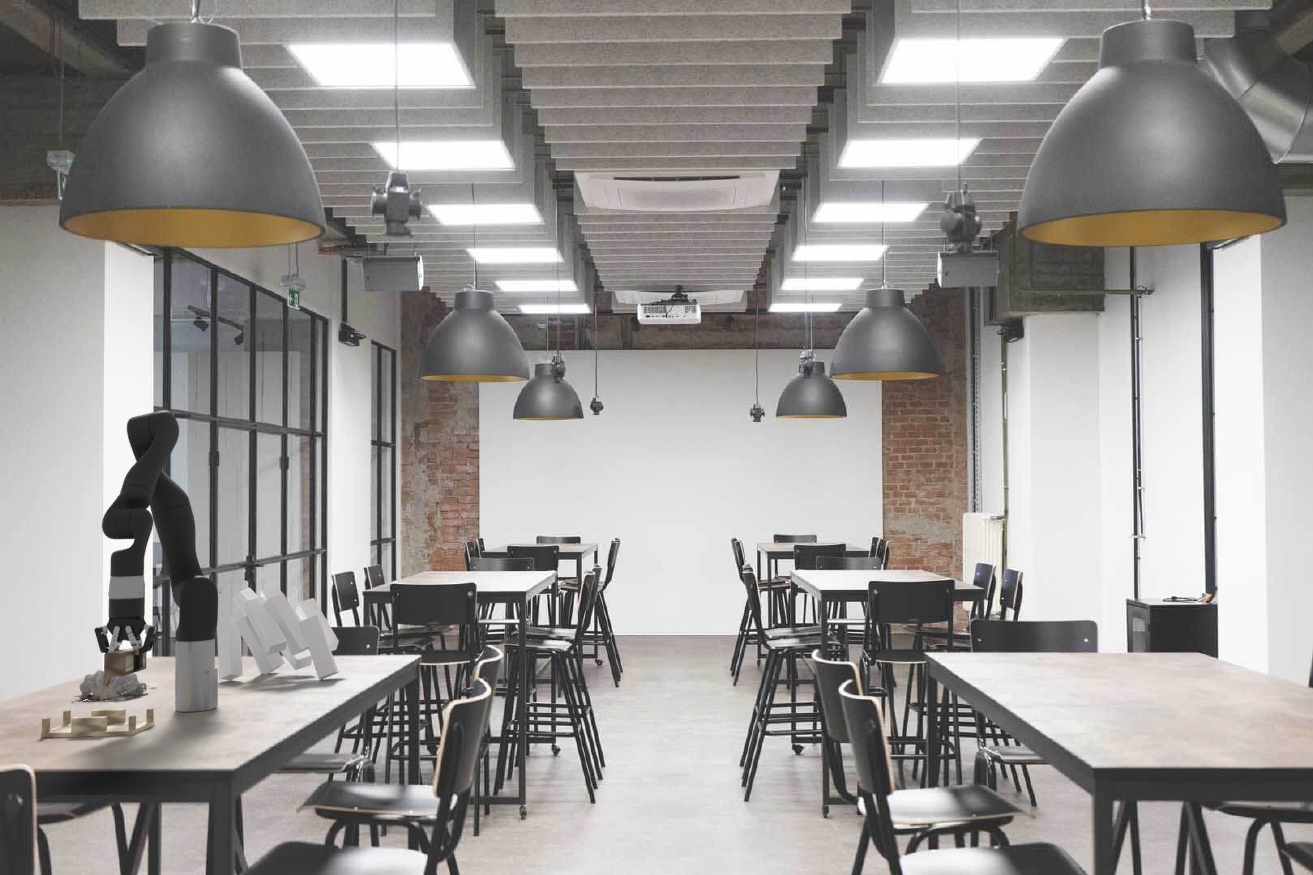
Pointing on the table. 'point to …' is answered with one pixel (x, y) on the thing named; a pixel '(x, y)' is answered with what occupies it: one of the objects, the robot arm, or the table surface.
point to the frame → (121, 662)
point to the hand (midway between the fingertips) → (125, 671)
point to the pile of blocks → (275, 635)
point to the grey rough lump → (111, 687)
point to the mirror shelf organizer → (98, 724)
